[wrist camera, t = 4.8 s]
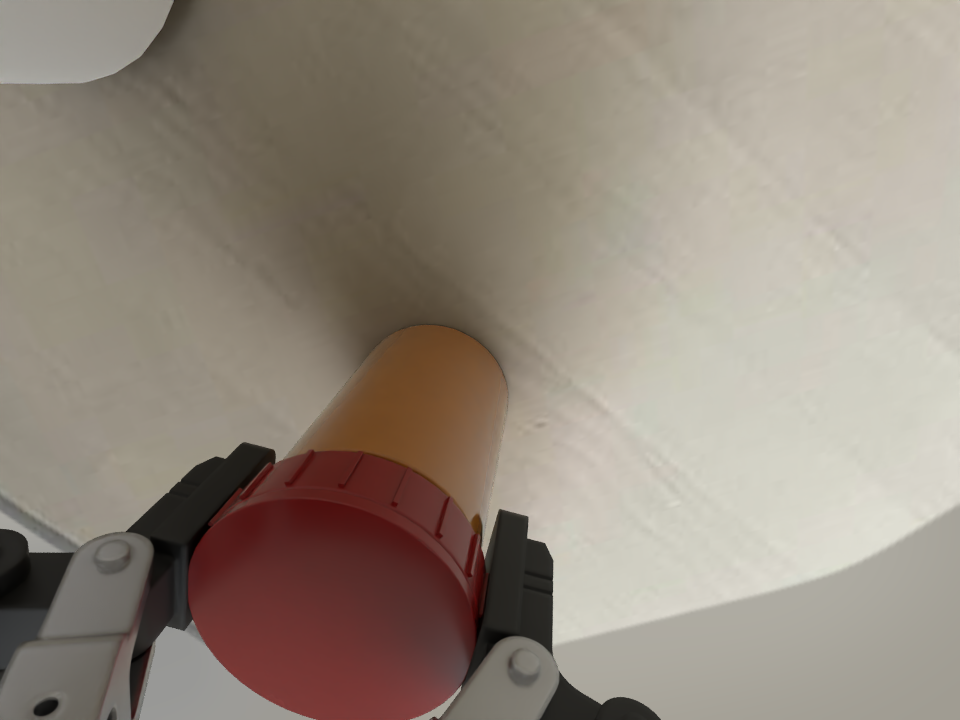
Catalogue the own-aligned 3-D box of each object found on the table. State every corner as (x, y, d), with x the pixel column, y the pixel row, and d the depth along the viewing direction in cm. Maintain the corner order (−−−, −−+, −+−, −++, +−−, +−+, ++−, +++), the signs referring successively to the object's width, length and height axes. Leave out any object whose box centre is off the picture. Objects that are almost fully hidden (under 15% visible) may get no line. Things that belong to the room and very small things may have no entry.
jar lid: (245, 407, 11) (198, 450, 10) (528, 504, 11) (524, 562, 10) (211, 612, 13) (169, 672, 12) (447, 692, 13) (433, 762, 12)
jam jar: (501, 319, 19) (451, 487, 10) (514, 457, 21) (481, 697, 12) (349, 328, 19) (182, 490, 11) (374, 460, 21) (250, 688, 13)
